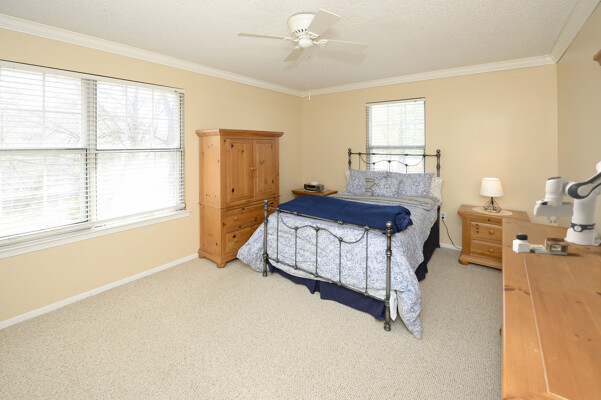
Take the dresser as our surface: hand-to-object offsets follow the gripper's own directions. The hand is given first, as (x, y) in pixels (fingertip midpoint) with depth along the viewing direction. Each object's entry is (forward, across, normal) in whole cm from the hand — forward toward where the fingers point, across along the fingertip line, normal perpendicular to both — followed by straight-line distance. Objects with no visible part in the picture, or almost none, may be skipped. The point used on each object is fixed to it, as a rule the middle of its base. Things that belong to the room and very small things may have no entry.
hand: (552, 223), depth 197 cm
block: (+18, +1, 0) cm, 18 cm away
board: (+19, +4, +3) cm, 19 cm away
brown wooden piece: (+16, +1, +9) cm, 19 cm away
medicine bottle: (+19, +19, +7) cm, 27 cm away
